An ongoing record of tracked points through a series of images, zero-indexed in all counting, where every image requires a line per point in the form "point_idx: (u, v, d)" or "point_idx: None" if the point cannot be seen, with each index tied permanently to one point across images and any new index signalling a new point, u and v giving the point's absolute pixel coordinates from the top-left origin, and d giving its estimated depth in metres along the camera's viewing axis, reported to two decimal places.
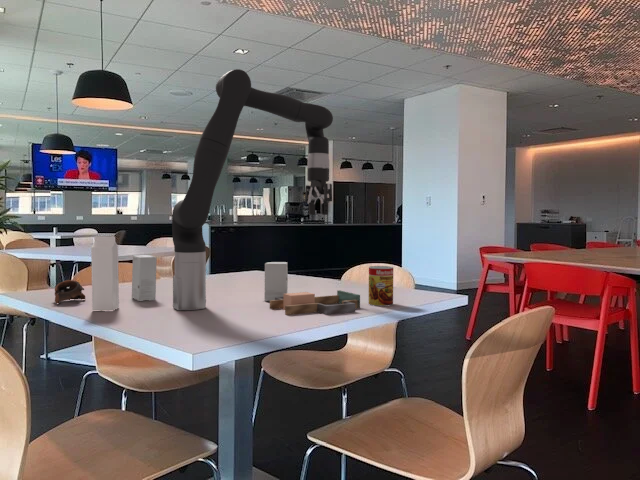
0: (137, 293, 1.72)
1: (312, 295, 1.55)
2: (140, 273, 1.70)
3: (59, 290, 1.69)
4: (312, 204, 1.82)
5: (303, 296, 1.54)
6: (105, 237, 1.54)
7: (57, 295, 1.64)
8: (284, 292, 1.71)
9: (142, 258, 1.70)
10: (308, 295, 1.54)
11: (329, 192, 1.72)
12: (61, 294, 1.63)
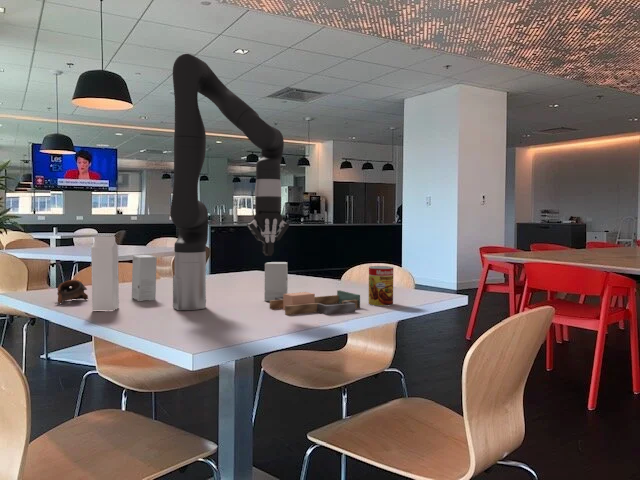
0: (137, 293, 1.72)
1: (312, 295, 1.55)
2: (140, 273, 1.70)
3: (62, 290, 1.69)
4: None
5: (304, 296, 1.54)
6: (105, 237, 1.54)
7: (60, 295, 1.64)
8: (284, 292, 1.71)
9: (142, 258, 1.70)
10: (308, 295, 1.55)
11: None
12: (64, 294, 1.63)
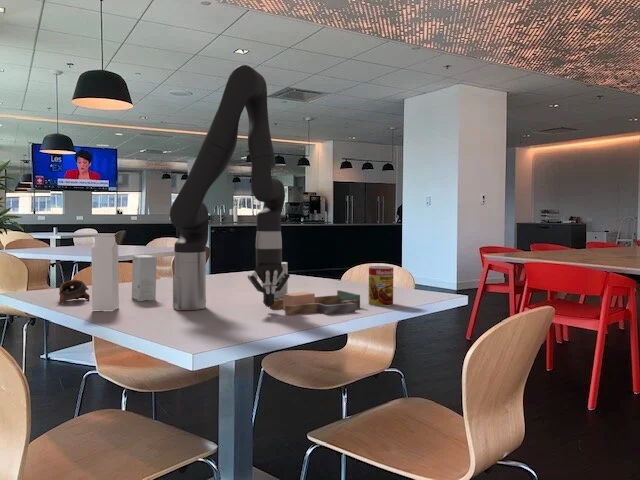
0: (137, 293, 1.72)
1: (312, 295, 1.56)
2: (140, 273, 1.70)
3: (63, 290, 1.69)
4: None
5: (304, 296, 1.54)
6: (105, 237, 1.54)
7: (62, 295, 1.65)
8: (284, 292, 1.71)
9: (142, 258, 1.70)
10: (309, 295, 1.55)
11: None
12: (66, 294, 1.64)
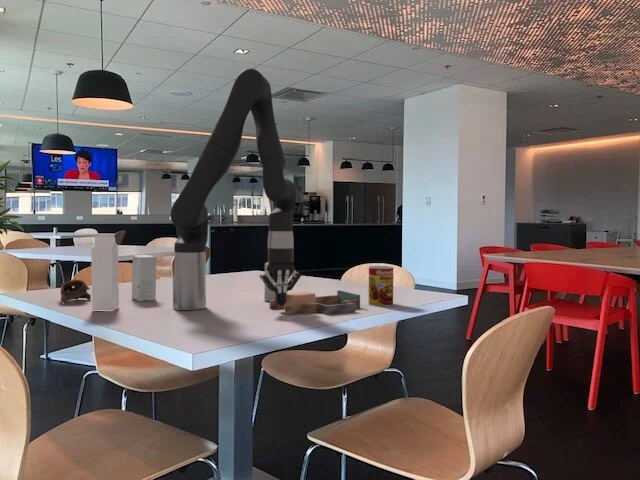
0: (137, 293, 1.72)
1: (313, 295, 1.56)
2: (140, 273, 1.70)
3: (64, 290, 1.70)
4: None
5: (305, 296, 1.54)
6: (105, 237, 1.54)
7: (63, 295, 1.65)
8: None
9: (142, 258, 1.70)
10: (309, 295, 1.55)
11: None
12: (67, 293, 1.64)
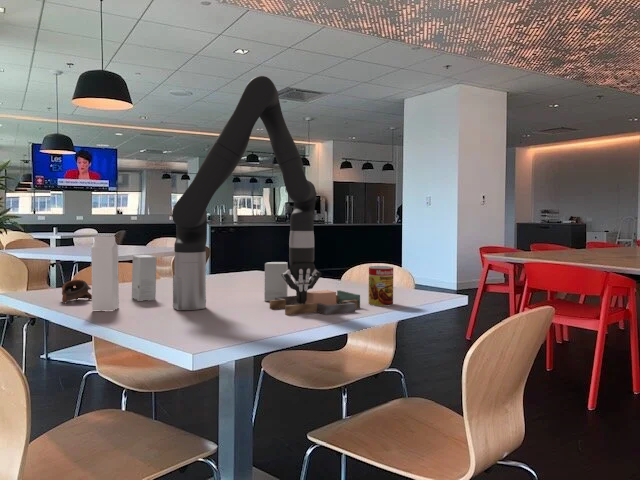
0: (137, 293, 1.72)
1: (334, 293, 1.58)
2: (140, 273, 1.70)
3: (66, 289, 1.70)
4: None
5: (325, 294, 1.57)
6: (105, 237, 1.54)
7: (64, 294, 1.65)
8: (284, 292, 1.71)
9: (142, 258, 1.70)
10: (330, 293, 1.58)
11: None
12: (69, 293, 1.64)
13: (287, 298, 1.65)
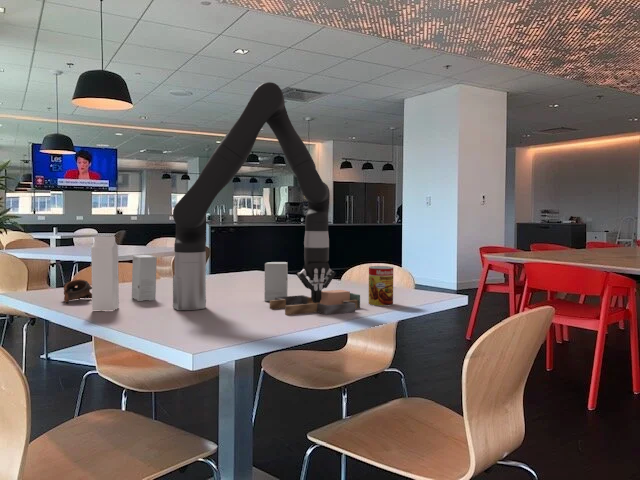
0: (137, 293, 1.72)
1: (347, 292, 1.61)
2: (140, 273, 1.70)
3: (68, 289, 1.70)
4: None
5: (339, 293, 1.59)
6: (105, 237, 1.54)
7: (66, 294, 1.65)
8: (284, 292, 1.71)
9: (142, 258, 1.70)
10: (344, 292, 1.60)
11: None
12: (71, 293, 1.65)
13: (287, 298, 1.65)
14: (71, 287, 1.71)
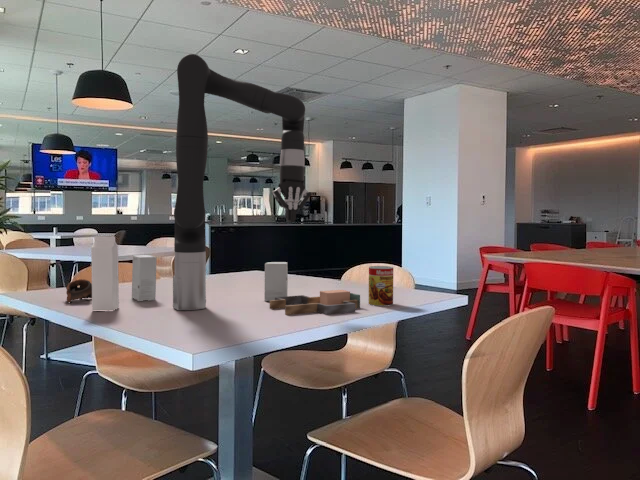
0: (137, 293, 1.72)
1: (347, 293, 1.61)
2: (140, 273, 1.70)
3: (70, 289, 1.71)
4: None
5: (339, 293, 1.59)
6: (105, 237, 1.54)
7: (69, 294, 1.66)
8: (284, 292, 1.71)
9: (142, 258, 1.70)
10: (344, 293, 1.60)
11: None
12: (73, 293, 1.65)
13: (287, 298, 1.65)
14: (73, 287, 1.72)
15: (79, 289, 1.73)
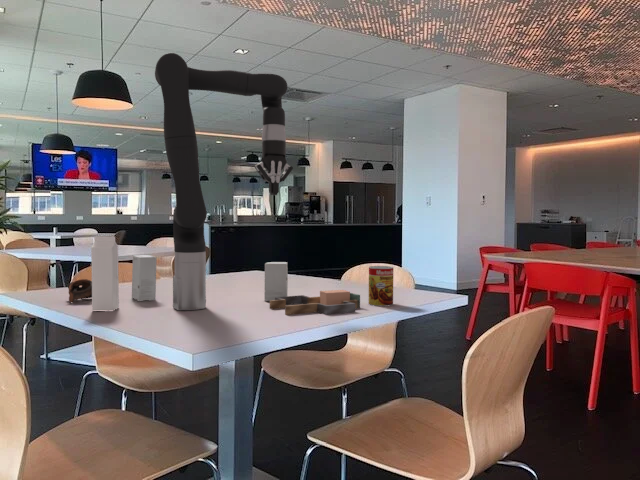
0: (137, 293, 1.72)
1: (347, 293, 1.60)
2: (140, 273, 1.70)
3: (72, 289, 1.71)
4: None
5: (338, 293, 1.59)
6: (105, 237, 1.54)
7: (71, 294, 1.66)
8: (284, 292, 1.71)
9: (142, 258, 1.70)
10: (343, 293, 1.60)
11: None
12: (75, 293, 1.66)
13: (287, 298, 1.65)
14: (75, 287, 1.72)
15: (81, 289, 1.74)
